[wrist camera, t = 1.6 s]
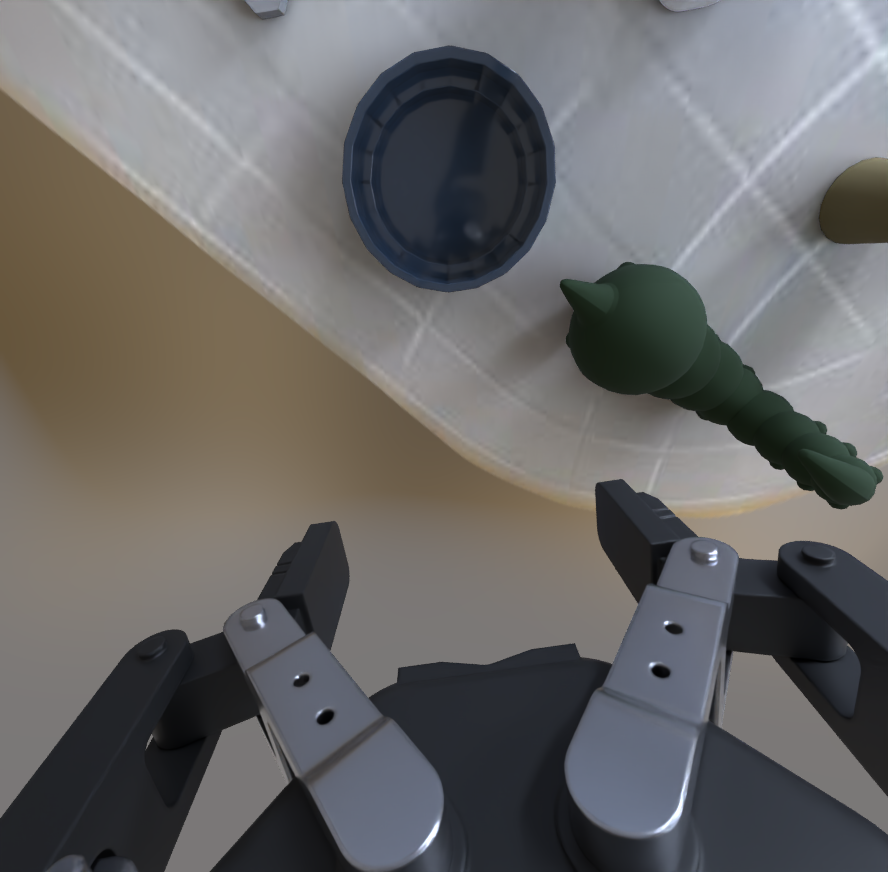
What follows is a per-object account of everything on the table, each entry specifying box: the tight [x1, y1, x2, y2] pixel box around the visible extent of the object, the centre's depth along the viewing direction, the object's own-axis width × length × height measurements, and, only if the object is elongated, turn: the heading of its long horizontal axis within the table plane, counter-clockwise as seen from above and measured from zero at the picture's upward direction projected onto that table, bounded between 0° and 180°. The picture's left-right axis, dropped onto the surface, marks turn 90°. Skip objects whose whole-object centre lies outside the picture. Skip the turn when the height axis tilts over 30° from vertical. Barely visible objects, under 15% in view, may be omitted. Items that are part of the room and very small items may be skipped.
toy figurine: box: [560, 262, 883, 509], centre depth 33 cm, size 9×19×25 cm
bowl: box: [342, 46, 556, 292], centre depth 33 cm, size 14×14×6 cm
